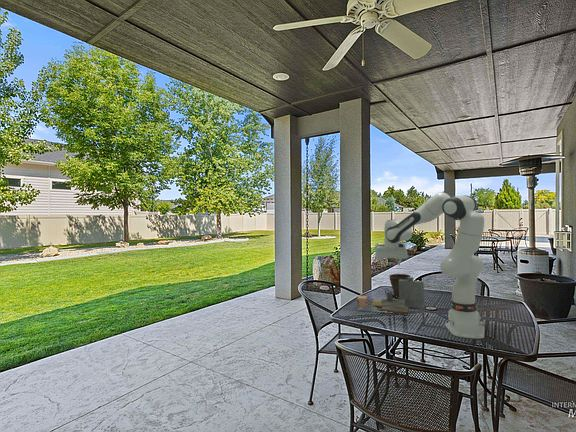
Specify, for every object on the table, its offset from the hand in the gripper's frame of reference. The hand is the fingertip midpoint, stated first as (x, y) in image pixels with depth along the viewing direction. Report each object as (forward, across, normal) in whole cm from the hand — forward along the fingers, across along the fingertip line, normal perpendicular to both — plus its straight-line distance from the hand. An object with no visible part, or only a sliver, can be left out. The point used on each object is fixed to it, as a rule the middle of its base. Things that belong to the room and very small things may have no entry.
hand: (391, 264), depth 206 cm
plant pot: (+31, +8, +28) cm, 43 cm away
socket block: (+29, -18, -3) cm, 34 cm away
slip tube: (+27, -4, -5) cm, 28 cm away
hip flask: (+30, +14, +4) cm, 33 cm away
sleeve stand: (+30, -6, -4) cm, 30 cm away
